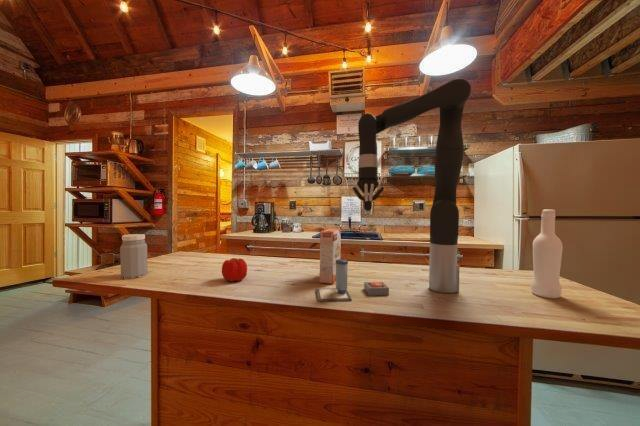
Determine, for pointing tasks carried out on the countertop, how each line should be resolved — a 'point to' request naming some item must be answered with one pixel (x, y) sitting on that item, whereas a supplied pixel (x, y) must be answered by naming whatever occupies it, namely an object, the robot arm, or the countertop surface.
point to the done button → (375, 284)
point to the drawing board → (332, 295)
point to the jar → (133, 256)
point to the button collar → (376, 289)
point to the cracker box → (329, 254)
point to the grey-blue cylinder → (341, 275)
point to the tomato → (234, 269)
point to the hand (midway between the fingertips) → (367, 210)
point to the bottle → (547, 258)
